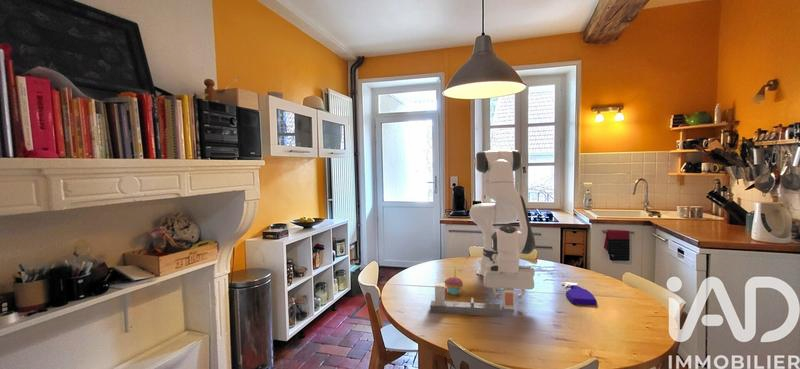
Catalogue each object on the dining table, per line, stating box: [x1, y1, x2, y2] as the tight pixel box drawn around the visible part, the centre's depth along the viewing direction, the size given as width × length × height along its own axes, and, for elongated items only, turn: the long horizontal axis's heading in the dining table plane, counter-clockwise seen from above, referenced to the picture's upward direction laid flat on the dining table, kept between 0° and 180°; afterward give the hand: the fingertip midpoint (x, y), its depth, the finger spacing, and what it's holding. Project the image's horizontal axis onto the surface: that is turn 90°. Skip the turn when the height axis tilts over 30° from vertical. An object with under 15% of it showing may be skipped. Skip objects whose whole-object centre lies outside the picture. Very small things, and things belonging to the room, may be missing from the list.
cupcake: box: [444, 266, 464, 296], centre depth 159 cm, size 9×8×12 cm
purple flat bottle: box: [561, 281, 598, 306], centre depth 154 cm, size 3×11×24 cm
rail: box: [429, 282, 502, 317], centre depth 138 cm, size 5×28×11 cm, turn 79°
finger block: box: [502, 288, 515, 310], centre depth 142 cm, size 4×5×8 cm
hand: (508, 298), depth 142 cm, fingers open, 8 cm apart
